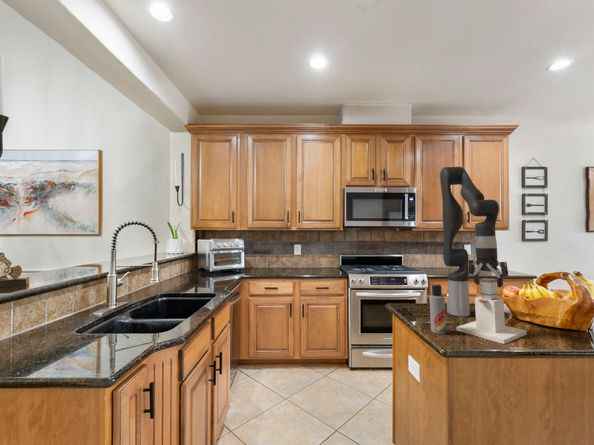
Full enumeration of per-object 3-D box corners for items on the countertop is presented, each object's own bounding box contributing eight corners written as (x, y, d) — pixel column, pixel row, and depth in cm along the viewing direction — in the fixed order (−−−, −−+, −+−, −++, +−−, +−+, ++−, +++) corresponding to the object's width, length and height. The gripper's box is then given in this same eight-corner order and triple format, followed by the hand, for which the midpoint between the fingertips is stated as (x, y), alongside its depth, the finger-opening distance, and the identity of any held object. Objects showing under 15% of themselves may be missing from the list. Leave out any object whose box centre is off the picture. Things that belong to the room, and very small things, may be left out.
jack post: (481, 327, 119) (479, 279, 120) (487, 325, 122) (485, 277, 122) (493, 330, 115) (491, 280, 116) (499, 328, 118) (496, 279, 118)
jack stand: (456, 330, 122) (455, 297, 122) (479, 322, 131) (478, 292, 131) (504, 344, 106) (502, 306, 107) (526, 334, 115) (524, 299, 116)
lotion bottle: (448, 334, 117) (445, 285, 118) (433, 334, 118) (431, 285, 119) (443, 330, 123) (441, 283, 123) (429, 329, 124) (427, 283, 125)
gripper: (509, 246, 116) (512, 287, 115) (473, 246, 128) (475, 282, 127) (500, 247, 112) (502, 289, 111) (464, 246, 124) (465, 284, 123)
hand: (488, 285), depth 119 cm, fingers open, 8 cm apart
